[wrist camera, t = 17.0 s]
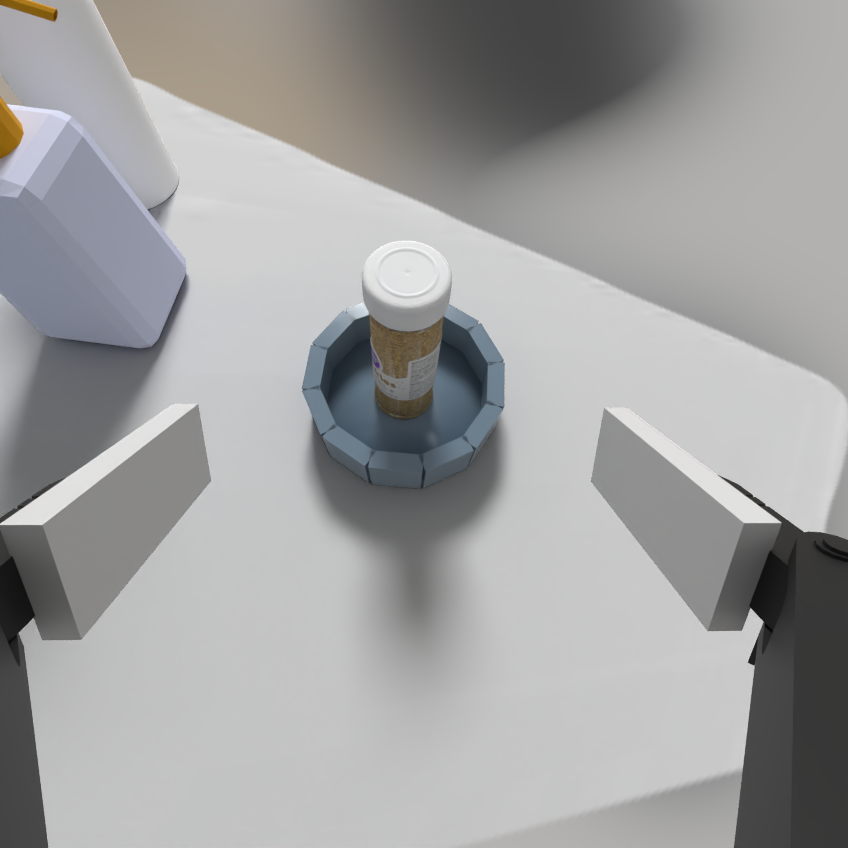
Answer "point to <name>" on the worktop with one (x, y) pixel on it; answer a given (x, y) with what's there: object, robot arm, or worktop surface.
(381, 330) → the sprinkles bottle
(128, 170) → the cup
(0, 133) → the soap bottle
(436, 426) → the bowl
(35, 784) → the robot arm
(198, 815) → the worktop surface
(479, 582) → the worktop surface
